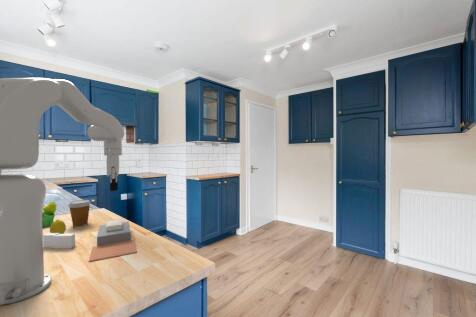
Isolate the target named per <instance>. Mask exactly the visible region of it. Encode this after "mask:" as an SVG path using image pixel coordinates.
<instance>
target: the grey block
mask: <svg viewBox="0 0 476 317" xmlns="http://www.w3.org/2000/svg"><path fill="white" fill-rule="evenodd" d="M106 225H107V224H101V225H99V228H98V231H97V236H96V246H100V245H106V244H112V243H118V242H123V241H129V240H132V239H131V238H132V237H131V227H130V222H129V221H122V229H119V230H113V231H106Z"/></svg>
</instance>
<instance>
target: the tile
mask: <svg viewBox="0 0 476 317" xmlns="http://www.w3.org/2000/svg"><path fill="white" fill-rule="evenodd" d="M122 222H123V219H122V218H121V219H113V220H111V219H110V220H107V221H106V224H105V225H106V231H113V230H119V229H122Z"/></svg>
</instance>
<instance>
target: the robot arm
mask: <svg viewBox="0 0 476 317" xmlns="http://www.w3.org/2000/svg"><path fill="white" fill-rule="evenodd" d="M54 106H58V107H59V108H61V109H62V110H63V111H64V112H65V113H66V114H68V116H69V117H71V118H72V119H73V121H75V122H78V123H81V124H84V125H88V126H89V127H88V129H87V131H86V132H87V136H88V138H89V139H90V140H92V141H94V142H103V155H104V156H106V159H105V160H106V177H109V176H110V178H109V179H110V182H109V191H110V192H116V191H118V190H119V188H118V187H119V185H118V176H119V174H120V156H123V149H122V147H123V146H122V145H123V144H122V143H123V142H122V140H123V139H124V137H125V129H124V128H123V127H124V126H123V125H122V124H121V122H120V121H119V120H118V118H116V117H115V116H113V114H110V113H108V112H106V111H104V110H102V109H100V108H98V107H97V106H94V105H93V104H92V102H90V101H89V100H88V99H87V97H86V96H85V95H84V94H83V93H82V92H81V91H80V90H79V89H78V87H77V86H76V85H75V84H74V83H73V82H71V81H69V80H66V79H60V78H58V79H57V78H54V79H52V78H46V77H7V78H6V77H5V78H4V77H3V78H0V306H1V305H9V304H13V303H17V302H21V301H23V300H27V299H28V298H31V297H33V296H35V295H37V294H39V293H41V292H43V291H44V290H45V289H47V288H48V287H49V286H50V285H51V282H52V276H51V275H50V274H47V273H45V268H44V267H45V266H44V264H45V262H44V261H45V260H44V247H43V235H44V234H43V233H44V232H43V227H42V212H44V210H43V208H44V204H45V203H44V202H45V199H46V194H47V188H46V184H45V182H44V181H43V180H41V178H39V177H37V176H34V175H30V174H2V171H3V170H5V171H7V170H9V171H10V170H24V169H25V170H26V169H29V168H32V167H34V166H35V165H36V164H37V162H38V161H39V156H40V155H39V153H40V148H39V147H40V144H39V143H40V121H41V118H42V116H43V114H44V113H45V112H46V111H47V110H49V108H51V107H54Z"/></svg>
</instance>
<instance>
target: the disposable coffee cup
mask: <svg viewBox="0 0 476 317" xmlns="http://www.w3.org/2000/svg"><path fill="white" fill-rule="evenodd" d="M67 206H68V207H69V212H70V217H71V222H72V226H73V227H81V226H85V225H88V223H89V216H90V207H91V201H90V200H89V199H78V200H72V201H70V202H69V204H68V205H67Z"/></svg>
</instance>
